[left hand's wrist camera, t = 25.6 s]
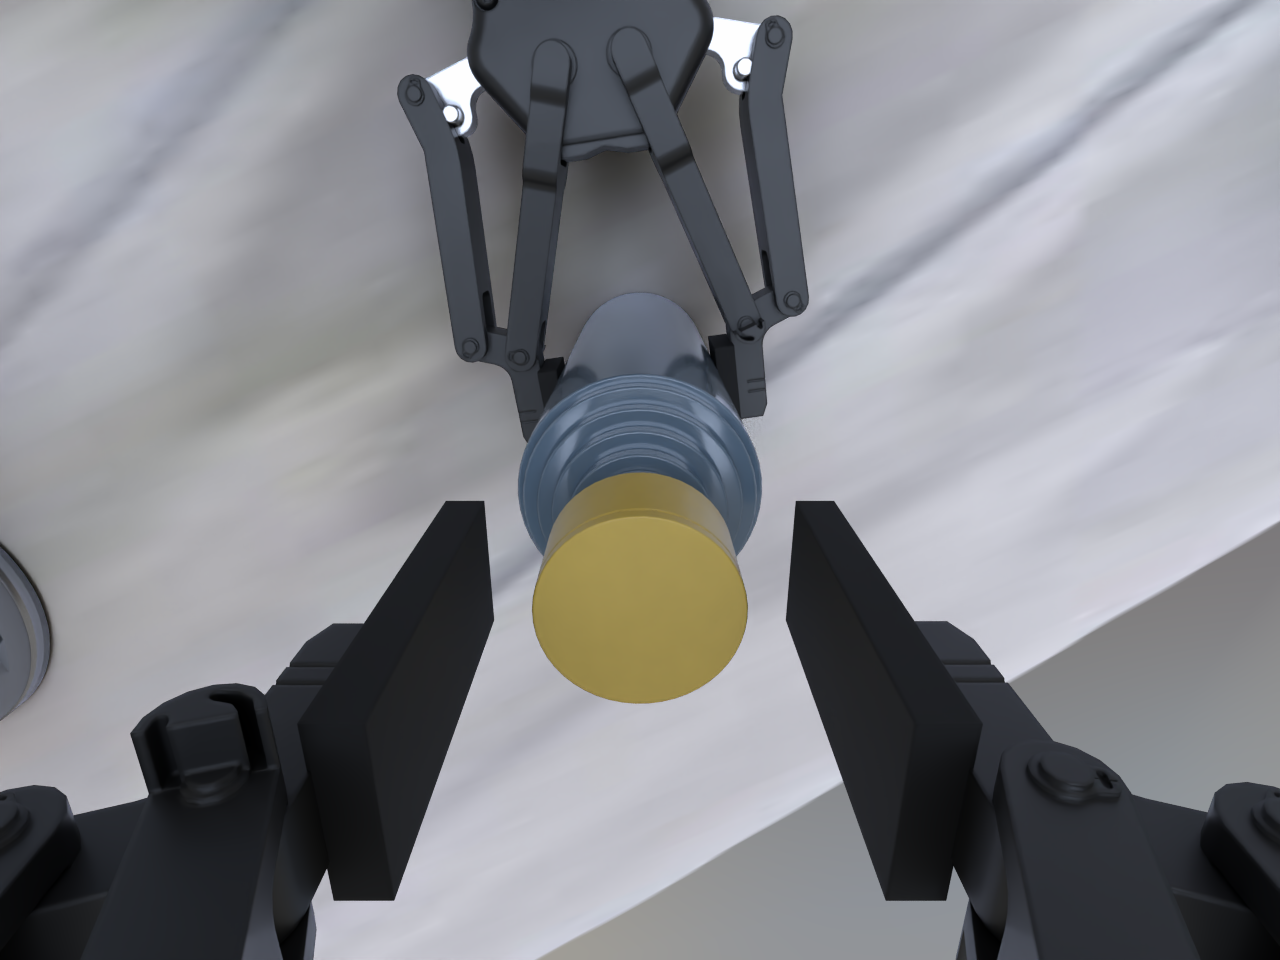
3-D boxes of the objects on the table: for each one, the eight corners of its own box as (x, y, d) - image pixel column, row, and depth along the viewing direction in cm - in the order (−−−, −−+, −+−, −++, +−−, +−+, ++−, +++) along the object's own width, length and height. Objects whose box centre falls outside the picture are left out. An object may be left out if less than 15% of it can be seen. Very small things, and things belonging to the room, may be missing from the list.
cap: (698, 444, 14) (708, 486, 12) (755, 606, 15) (774, 669, 13) (517, 507, 14) (496, 557, 12) (587, 658, 16) (579, 727, 13)
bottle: (651, 264, 33) (672, 364, 12) (727, 367, 35) (869, 619, 13) (551, 345, 35) (404, 569, 13) (629, 440, 36) (614, 777, 15)
